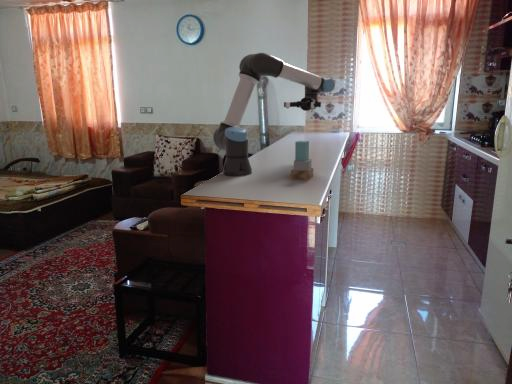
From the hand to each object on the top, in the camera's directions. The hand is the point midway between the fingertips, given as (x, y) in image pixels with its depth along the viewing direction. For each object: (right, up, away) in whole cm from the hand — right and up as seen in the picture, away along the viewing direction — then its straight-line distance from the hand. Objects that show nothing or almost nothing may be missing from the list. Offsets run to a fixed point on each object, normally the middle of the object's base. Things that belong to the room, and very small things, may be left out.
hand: (298, 105), depth 209 cm
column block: (0, -30, -15) cm, 33 cm away
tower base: (0, -39, -13) cm, 41 cm away
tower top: (0, -34, -14) cm, 37 cm away
